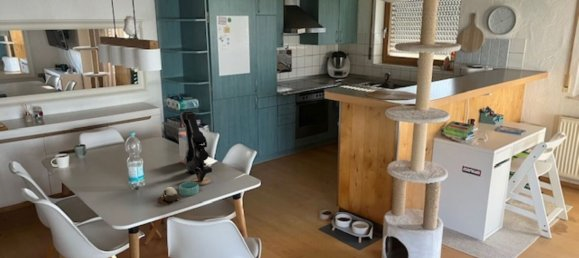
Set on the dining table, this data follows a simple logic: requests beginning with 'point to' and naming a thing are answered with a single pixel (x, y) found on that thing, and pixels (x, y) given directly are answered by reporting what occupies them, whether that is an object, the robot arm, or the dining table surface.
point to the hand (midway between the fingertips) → (200, 180)
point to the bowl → (189, 188)
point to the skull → (169, 196)
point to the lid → (201, 183)
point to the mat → (207, 184)
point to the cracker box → (182, 146)
